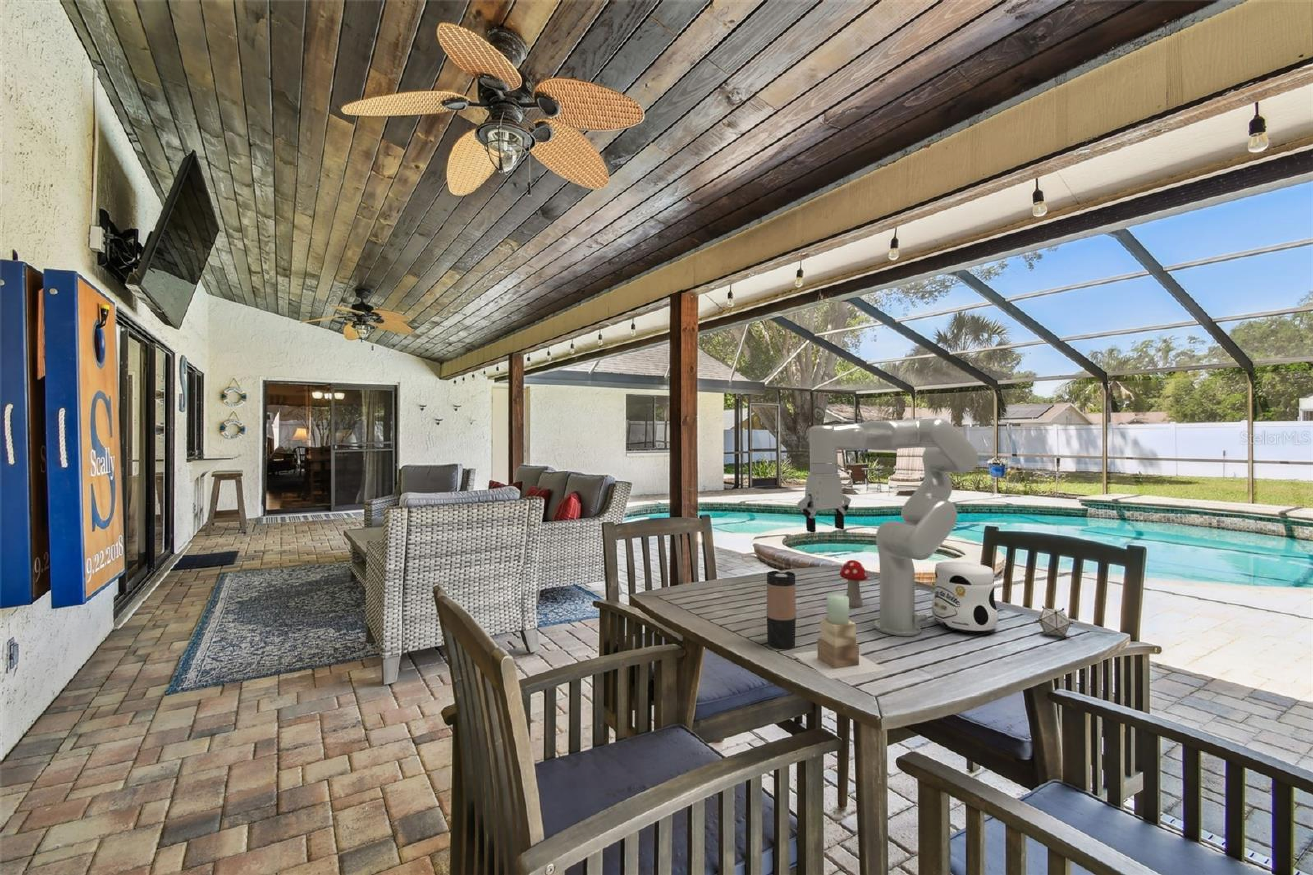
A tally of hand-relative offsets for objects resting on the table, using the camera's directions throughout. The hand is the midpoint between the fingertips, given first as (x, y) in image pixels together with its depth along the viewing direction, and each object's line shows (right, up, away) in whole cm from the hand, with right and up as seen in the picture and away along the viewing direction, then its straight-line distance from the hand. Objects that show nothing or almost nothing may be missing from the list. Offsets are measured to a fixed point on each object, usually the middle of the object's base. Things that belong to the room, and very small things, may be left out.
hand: (825, 530), depth 161 cm
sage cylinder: (-3, -20, -19) cm, 27 cm away
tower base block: (-3, -30, -19) cm, 35 cm away
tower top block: (-3, -25, -19) cm, 31 cm away
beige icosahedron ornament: (+65, -31, +2) cm, 72 cm away
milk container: (+44, -31, +9) cm, 54 cm away
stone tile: (-3, -31, -19) cm, 36 cm away
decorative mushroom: (+19, -31, +32) cm, 49 cm away
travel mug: (-14, -31, -7) cm, 35 cm away
